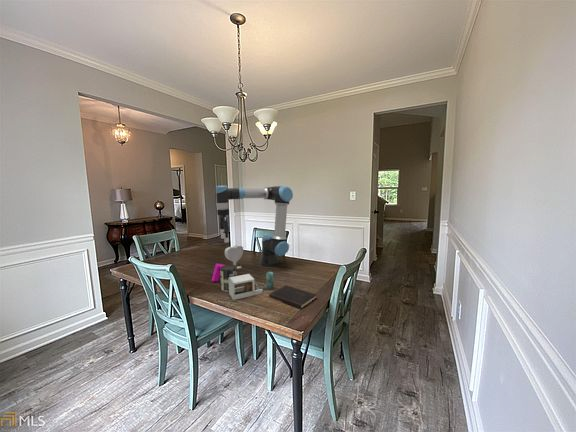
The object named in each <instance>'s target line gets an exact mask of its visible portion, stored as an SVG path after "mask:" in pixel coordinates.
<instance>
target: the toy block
mask: <svg viewBox="0 0 576 432" xmlns="http://www.w3.org/2000/svg"><path fill="white" fill-rule="evenodd" d="M225 265H226V264H221V263H215V265H214V269H213V273H212V277H211V281H212V282H214V283H215V282H220V281H219V276H221V270H220V268H221V267H222V266H225Z"/></svg>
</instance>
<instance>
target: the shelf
mask: <svg viewBox="0 0 576 432" xmlns="http://www.w3.org/2000/svg"><path fill="white" fill-rule="evenodd" d="M228 281H229V292H228V294H229V295H230V297H231V299H232V300H233V301H235V300H239V299H243V298H244V299H245V298H248V297H252V296H257V295H261V294H262V295H263V294H264V293H263V291H264V290H263V289H259V290H255V285H254V282H255V278H254V277H253V276H252V275H251V274H250V273H247V274H241V275H238V276H234V277H229V278H228ZM251 281H252V290H253V291H250V292H244V285H243V286H237V287H238V288H234V285H235V284H237V285H239V284H244V283H245V282H251ZM257 288H259V287H258V286H257ZM236 293H237V294H236Z"/></svg>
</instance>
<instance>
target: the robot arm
mask: <svg viewBox="0 0 576 432" xmlns="http://www.w3.org/2000/svg"><path fill="white" fill-rule="evenodd" d="M215 196H216V204H215V205H216V209H217V210H216V214H217V216H219V229H220V230H219V231H220V239H221V240H222V239H223V240H224V244H226V243H229V242H230V235H229V232H230V229H229V228H230V227H229V221H228V216H229V215H230V210H229V208H230V207H229V206H230V205H229V200H243V199H263V200H269V201H274V204H275V217H274V232H273V235H270V236H269V235H268V236H264V237H262V238H261V249H262V250H261V251H262V252H261V257H260V258H261V259H260V262H259V263H260V265H261V266H264V267H273V266H274V267H275V266H277V265H279V259H278V258H279V257H278V256H280V257H283V256H285V255H286V254H287V253H288V252H289V250H290V245H289V243H288V241H287V239H288V238H287V237H286V227H287V226H286V225H287V213H288V211H287V210H288V206H289V205H290V201H292V200H293V197H294V193H293V190H292V189H291V187H290V186H286V185H279V186H278V185H277V186H269V187H268V186H267V187H263V188H243V187H232V188H229V187H228V185H216V186H215Z"/></svg>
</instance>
